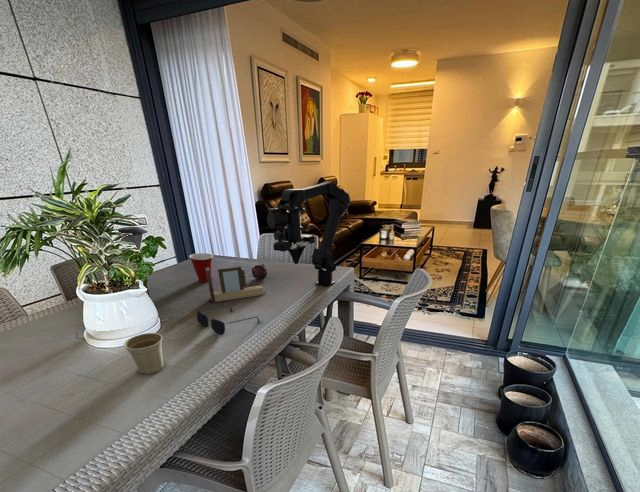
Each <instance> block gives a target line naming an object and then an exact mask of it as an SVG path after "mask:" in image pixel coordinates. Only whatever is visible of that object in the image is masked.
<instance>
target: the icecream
mask: <svg viewBox="0 0 640 492" xmlns="http://www.w3.org/2000/svg"><path fill="white" fill-rule="evenodd" d="M251 274H252V277H253V278H255V279H257V280H258V281H259V280H264V279H265V278H267V276H268V272H267V268H266V264H265V263H262V264H257V265H254V267H252V268H251Z"/></svg>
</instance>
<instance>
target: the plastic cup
mask: <svg viewBox="0 0 640 492" xmlns="http://www.w3.org/2000/svg"><path fill="white" fill-rule="evenodd" d="M188 257H189V259H190V261H191V263H192V266H193V268H194V272H195V274H196V277H197V279H198V281H199V282H200V283H208V279H207V274H206V269H205V268H207V267H208V268H209V270H210V275H211V280H212V279H213V258H214V254H212V253H208V252H207V253H206V252H198V253H192V254H189V256H188Z"/></svg>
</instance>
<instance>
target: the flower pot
mask: <svg viewBox="0 0 640 492" xmlns="http://www.w3.org/2000/svg"><path fill="white" fill-rule="evenodd" d="M162 341H163V335H161V334H160V333H156V332H145V333H141V334H138V335H135V336H132V337H130V338H128V339H127V340H126V341H124V343H123V348H124V349H126V350H127V352H128V353H129V354H130V356H131V358H132V359H133V362H134V363H135V365H136V367H137V369H138V372H140V374H147V375H150V374H154V373H157V372H160V370H161V369H162V368H164V357H163V352H162V351H163V350H162V345H163V342H162Z"/></svg>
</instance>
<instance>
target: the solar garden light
mask: <svg viewBox="0 0 640 492" xmlns="http://www.w3.org/2000/svg"><path fill="white" fill-rule="evenodd" d="M117 230H118V231H119V232H121V233H132V234H133V235H128V236H125V237H123V238H122V239H121V240H120V242H121V241H126V242H133V243H135V245H136V247H137V249H140V250H141V245H142V241H143V235H144V234H147V233H148V232H149V231H148V230H146V229H144V228H141V227H139V226H125V227H119V228H118V229H117ZM127 247H131V246H127ZM145 287H146V288H147V292H148V295H149V297H150V298H151V296H150V293H149V289H148V284H147V282H146V283H145Z"/></svg>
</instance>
